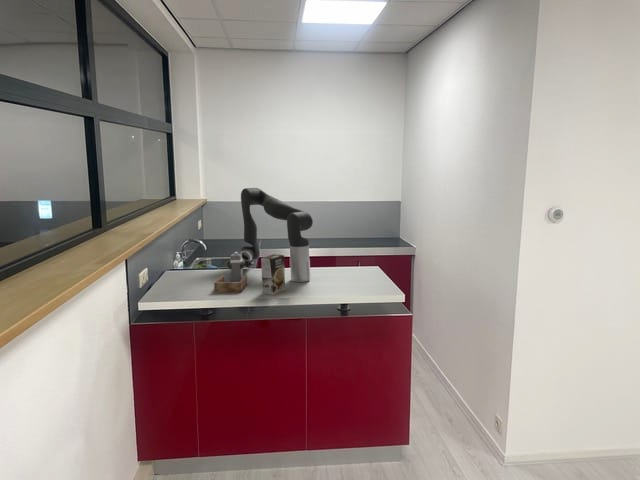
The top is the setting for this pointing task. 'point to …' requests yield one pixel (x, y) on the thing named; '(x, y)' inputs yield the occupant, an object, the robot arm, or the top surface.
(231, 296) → the top surface
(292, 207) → the robot arm
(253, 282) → the top surface
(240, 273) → the connector plug
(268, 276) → the coffee box
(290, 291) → the top surface
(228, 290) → the caddy
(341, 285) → the top surface
